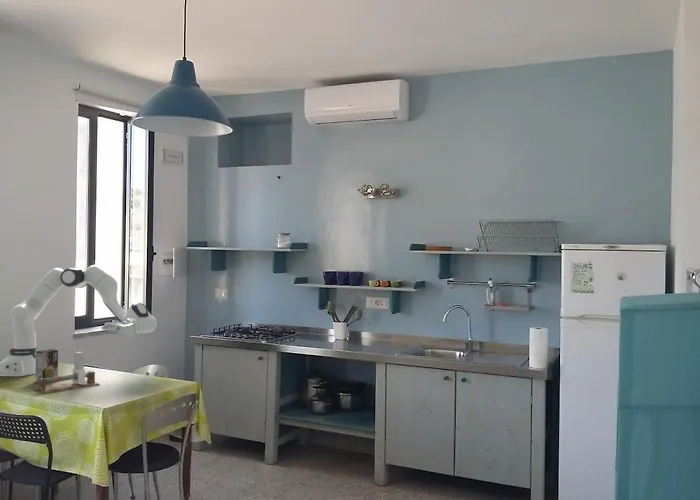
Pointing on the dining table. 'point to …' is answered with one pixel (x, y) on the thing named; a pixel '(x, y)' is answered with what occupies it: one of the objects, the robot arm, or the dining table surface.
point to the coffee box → (46, 364)
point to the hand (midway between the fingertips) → (104, 328)
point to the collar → (79, 367)
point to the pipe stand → (63, 387)
